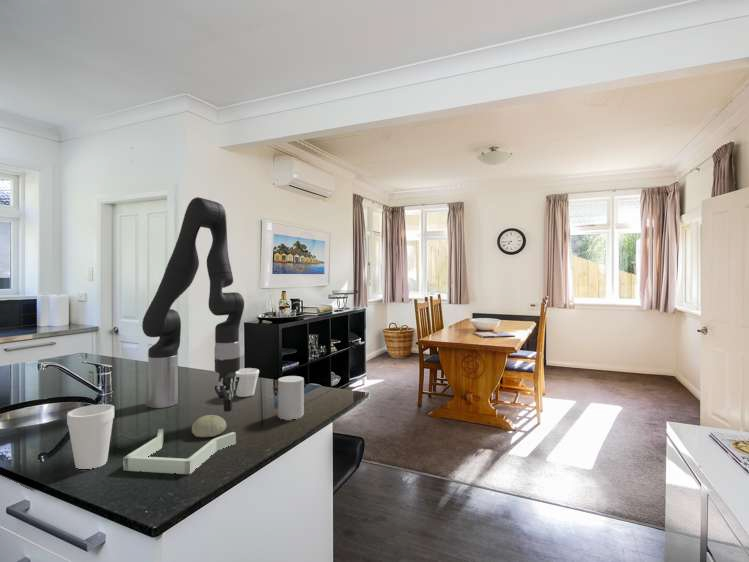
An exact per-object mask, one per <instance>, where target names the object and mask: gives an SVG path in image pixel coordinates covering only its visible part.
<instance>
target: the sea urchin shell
mask: <svg viewBox="0 0 749 562" xmlns="http://www.w3.org/2000/svg"><path fill="white" fill-rule="evenodd" d="M226 429H227V421H226V420H225V419H224V418H223V417H222V416H219V415H215V414H207V415H202V416H200V417H198V418H196V419H195V421H194V422H193V423H192V426H191V433H192V434H193V436H195V437H196V438H213V437H217V436H220V435H221V434H222V433H224V431H225V430H226Z"/></svg>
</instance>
